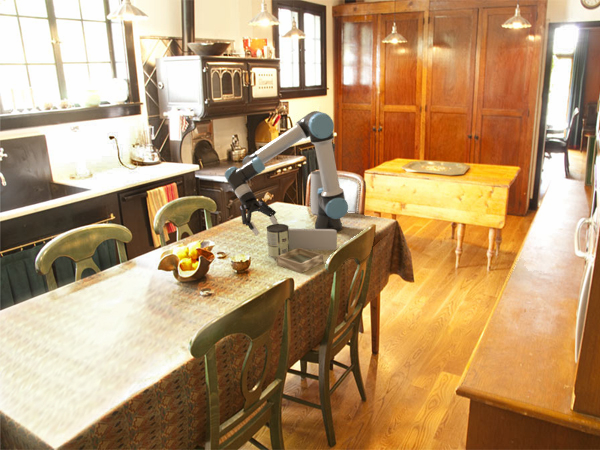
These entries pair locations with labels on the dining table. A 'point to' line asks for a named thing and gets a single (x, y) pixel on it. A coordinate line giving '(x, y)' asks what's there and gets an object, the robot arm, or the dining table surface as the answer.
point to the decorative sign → (313, 239)
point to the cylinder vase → (315, 190)
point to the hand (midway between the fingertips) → (268, 231)
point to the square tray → (299, 260)
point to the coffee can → (277, 240)
